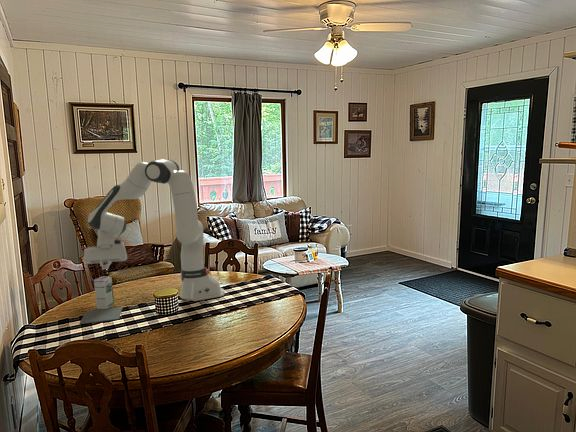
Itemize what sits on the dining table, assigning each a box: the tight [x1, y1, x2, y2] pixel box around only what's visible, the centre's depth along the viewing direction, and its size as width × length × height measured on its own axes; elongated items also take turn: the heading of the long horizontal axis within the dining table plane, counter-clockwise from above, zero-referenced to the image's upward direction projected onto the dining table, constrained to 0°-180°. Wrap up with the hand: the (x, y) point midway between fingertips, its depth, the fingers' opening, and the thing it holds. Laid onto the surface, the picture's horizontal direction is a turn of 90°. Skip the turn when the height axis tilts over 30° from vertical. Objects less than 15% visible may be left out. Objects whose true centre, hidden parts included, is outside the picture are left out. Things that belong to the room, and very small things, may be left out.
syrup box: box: [93, 275, 115, 310], centre depth 204 cm, size 6×6×14 cm
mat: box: [79, 306, 123, 325], centre depth 193 cm, size 16×16×1 cm
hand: (105, 268), depth 211 cm, fingers closed
